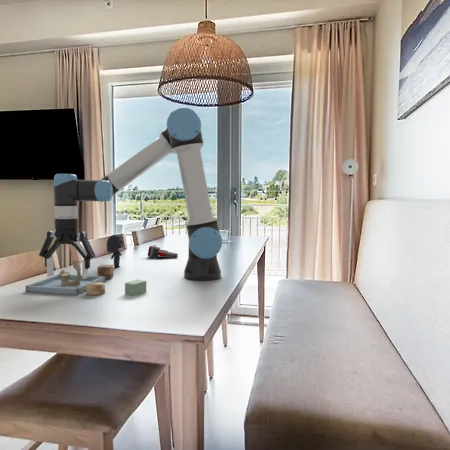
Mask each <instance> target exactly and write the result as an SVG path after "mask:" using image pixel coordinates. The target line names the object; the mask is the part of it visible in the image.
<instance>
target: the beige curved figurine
mask: <svg viewBox="0 0 450 450" xmlns="http://www.w3.org/2000/svg"><path fill="white" fill-rule="evenodd" d="M72 267H73V269H74V270H75V271H76V275H77V277H76V279H75V280H73V281H69V280H68V278H69V277H70V275H71V273H70V272H69V271H65V270H64V269H62V270H61V271H60V273H59V274H60V275H61V276H60V277H61V285H63V286H65V287H66V286H70V285H80V282H81V275H82V266H81V265H80V263H79V262H78V261H77V260H73V261H72Z"/></svg>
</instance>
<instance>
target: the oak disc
mask: <svg viewBox="0 0 450 450" xmlns="http://www.w3.org/2000/svg"><path fill="white" fill-rule="evenodd" d="M85 293H86V296H87V295H88V296H97V295H100V296H101V295H104V294H105V293H106V283H105V282H103V283H89V284H87V285H86V291H85Z"/></svg>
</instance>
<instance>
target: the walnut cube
mask: <svg viewBox="0 0 450 450" xmlns="http://www.w3.org/2000/svg"><path fill="white" fill-rule="evenodd" d="M96 268H97V276H105V281H107V280H112V279H113V278H114V264H100V265H98V266H97V267H96Z"/></svg>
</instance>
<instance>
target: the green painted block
mask: <svg viewBox="0 0 450 450" xmlns="http://www.w3.org/2000/svg"><path fill="white" fill-rule="evenodd" d="M144 293H147V280H143V279H134V280H131V281H127V282H124V294H125V295H127V296H132V297H135V296H137V295H141V294H144Z"/></svg>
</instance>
